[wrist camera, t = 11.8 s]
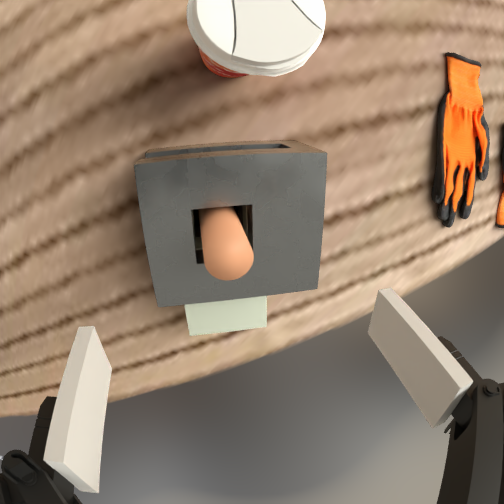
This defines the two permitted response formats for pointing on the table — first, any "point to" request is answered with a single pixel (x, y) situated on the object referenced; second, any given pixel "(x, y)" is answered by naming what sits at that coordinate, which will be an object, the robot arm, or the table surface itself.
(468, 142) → the pair of gloves
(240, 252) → the pin
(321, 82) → the table surface
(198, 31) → the paper cup
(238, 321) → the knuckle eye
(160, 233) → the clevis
